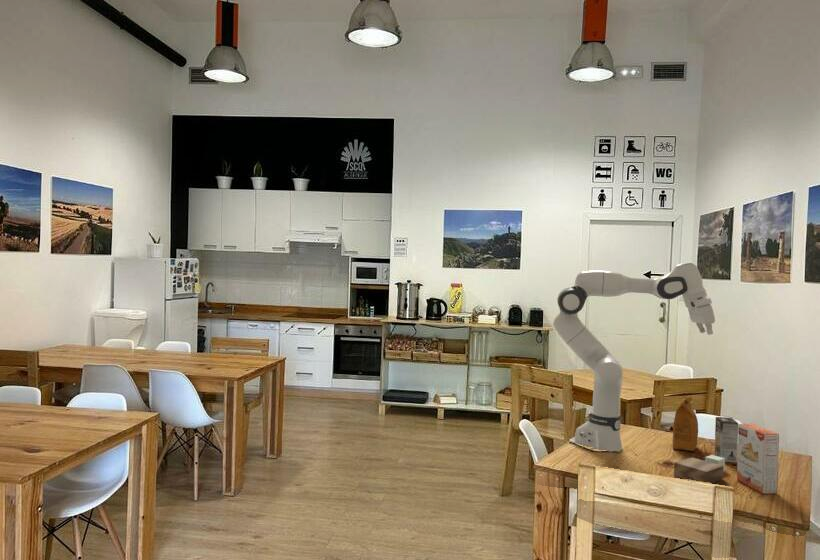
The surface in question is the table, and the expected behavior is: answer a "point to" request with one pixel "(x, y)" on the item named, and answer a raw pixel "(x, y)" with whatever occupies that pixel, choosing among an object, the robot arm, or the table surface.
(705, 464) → the walnut block
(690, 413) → the coffee package
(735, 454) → the coffee box
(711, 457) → the sage cube
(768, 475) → the cracker box
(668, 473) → the table surface
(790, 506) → the table surface
